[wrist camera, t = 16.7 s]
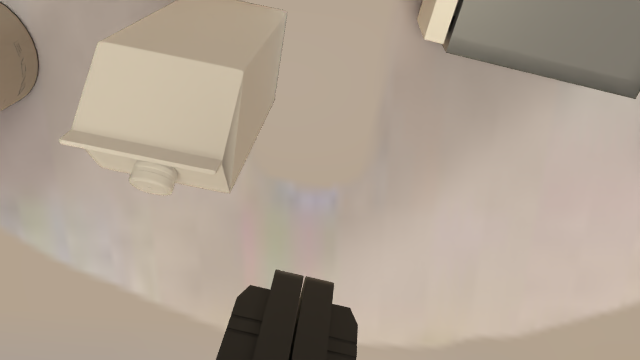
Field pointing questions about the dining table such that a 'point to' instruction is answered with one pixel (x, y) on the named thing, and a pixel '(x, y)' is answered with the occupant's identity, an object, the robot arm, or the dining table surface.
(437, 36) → the tray
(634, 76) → the player housing
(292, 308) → the robot arm
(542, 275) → the dining table surface
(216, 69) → the milk carton
